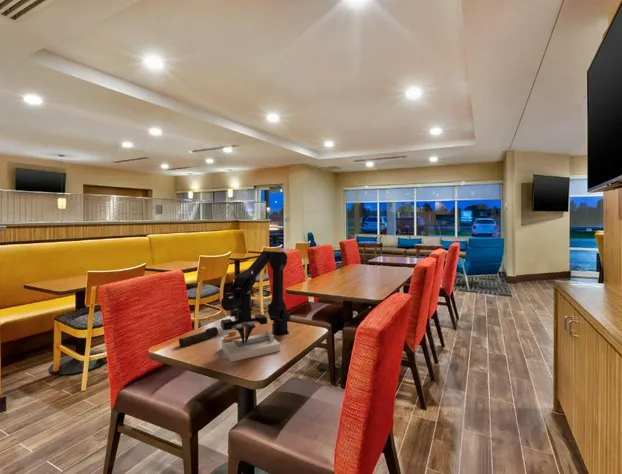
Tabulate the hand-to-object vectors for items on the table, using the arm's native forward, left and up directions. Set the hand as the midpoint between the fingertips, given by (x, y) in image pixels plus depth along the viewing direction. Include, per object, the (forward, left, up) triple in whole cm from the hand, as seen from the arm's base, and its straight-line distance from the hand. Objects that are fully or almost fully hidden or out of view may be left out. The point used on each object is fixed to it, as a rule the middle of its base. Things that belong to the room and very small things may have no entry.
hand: (244, 342), depth 139 cm
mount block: (-3, 0, -4) cm, 5 cm away
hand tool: (+15, -23, -4) cm, 27 cm away
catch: (+3, -6, 0) cm, 7 cm away
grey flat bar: (-4, 0, -1) cm, 4 cm away
